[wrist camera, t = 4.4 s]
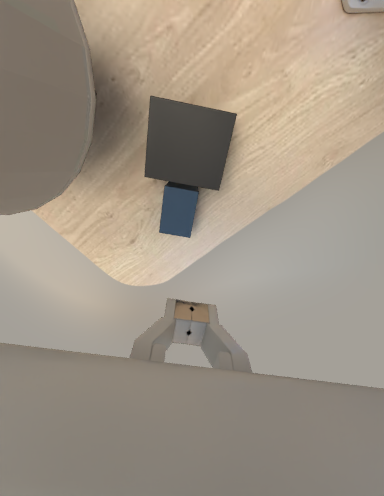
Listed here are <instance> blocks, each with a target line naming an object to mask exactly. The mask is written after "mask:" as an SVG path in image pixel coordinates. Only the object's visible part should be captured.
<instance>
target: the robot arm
mask: <svg viewBox="0 0 384 496" xmlns="http://www.w3.org/2000/svg"><path fill="white" fill-rule="evenodd" d="M342 4H343V8H344V10H345V11H346V12H348V13H363V12H384V0H363V2H362V1H361V0H342ZM172 343H181V344H189V345H196V346H201V349H202V350H203V352H204V353H205V355H206V357H207V359H208V360H209V362H210V364H211V365H212V367H213V368H206V367H198V366H190V365H182V364H173V363H165V362H164V359H165V351H166V350H167V349H168V348H169V346H170V345H171V344H172ZM0 496H384V389H383V388H374V387H366V386H357V385H349V384H340V383H332V382H324V381H316V380H307V379H299V378H291V377H282V376H274V375H265V374H257V373H252V370H251V366H250V362H249V358H248V355H247V353H246V352H245V351H244V350H243V349H242V348H241V347H240V345H239V344H238V343H237V342H236V341H235V340H234V339H233V338H232V337H231V336H230V334H229V333H228V332H227V331H226V330H225V329H224V328H223V326H222V325H219V321H218V315H217V308H216V305H211V304H203V303H195V302H188V301H183V300H177V299H176V300H175V299H170V298H168V299H167V303H166V309H165V316H164V317H161V318H160V319H159V320H158V321H157V322H155V323H154V324H153V325H152V326H151V327H150V328H148V329H147V330H146V331H145V332H144V333H143V334H141V335H140V336H139V337H138V338H137V339H136V340H135V342H134V345H133V348H132V352H131V355H130V358H123V357H114V356H106V355H98V354H89V353H81V352H72V351H63V350H56V349H47V348H38V347H31V346H22V345H14V344H6V343H0Z"/></svg>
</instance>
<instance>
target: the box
mask: <svg viewBox="0 0 384 496" xmlns="http://www.w3.org/2000/svg"><path fill="white" fill-rule="evenodd" d="M198 194H199V191H198V187H197V186H192V185H186V184H181V183H175V182H170V181H169V182H168V183H167V185H165V187H164V196H163V205H162V213H161V222H160V230H159V233H165V234H171V235H177V236H182V237H188V238H190V236H191V231H192V225H193V220H194V215H195V210H196V204H197V199H198Z"/></svg>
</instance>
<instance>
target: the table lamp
mask: <svg viewBox="0 0 384 496" xmlns="http://www.w3.org/2000/svg"><path fill="white" fill-rule="evenodd" d="M96 95H97V93H96V91H95V87H94V79H93V70H92V62H91V54H90V48H89V45H88V42H87V39H86V36H85V33H84V30H83V27H82V24H81V20H80V17H79V14H78V11H77V8H76V5H75V2H74V0H0V215H11V214H16V213H20V212H25V211H30V210H34V209H38V208H39V207H41V206H43V205H44V204H46V203H48V202H49V201H51V200H53V199H55V198H56V197H58V196H60V195H61V194H62V193H63V192H64V191H65V189H66V188H67V187H68V186H69V185H70V184H71V182H72V181H73V180H74V179H75V178H76V176H77V175H78V174H79V173H80V171H81V168H82V165H83V163H84V160H85V158H86V155H87V152H88V150H89V147H90V145H91V142H92V135H93V125H94V116H95V106H96Z"/></svg>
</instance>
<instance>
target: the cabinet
mask: <svg viewBox="0 0 384 496" xmlns="http://www.w3.org/2000/svg"><path fill="white" fill-rule="evenodd" d="M236 115H237V114H235V113H230V112H226V111H221V110H216V109H211V108H207V107H202V106H197V105H192V104H188V103H183V102H178V101H173V100H169V99H164V98H159V97H154V96H150V108H149V121H148V135H147V149H146V163H145V177H149V178H154V179H159V180H165V181H170V182H175V183H181V184H186V185H192V186H197V187H202V188H208V189H213V190H218V191H219V188H220V184H221V180H222V175H223V171H224V167H225V162H226V158H227V154H228V150H229V145H230V141H231V137H232V132H233V128H234V124H235V119H236Z"/></svg>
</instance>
